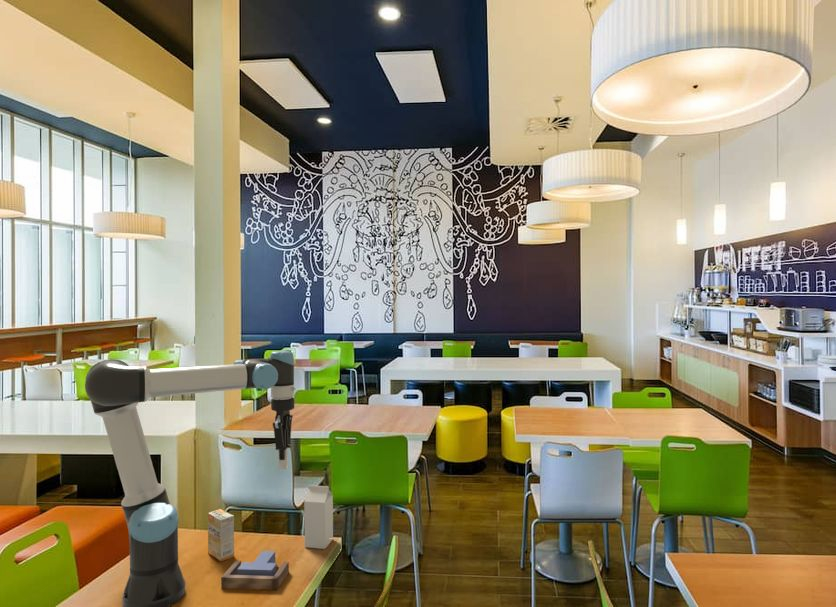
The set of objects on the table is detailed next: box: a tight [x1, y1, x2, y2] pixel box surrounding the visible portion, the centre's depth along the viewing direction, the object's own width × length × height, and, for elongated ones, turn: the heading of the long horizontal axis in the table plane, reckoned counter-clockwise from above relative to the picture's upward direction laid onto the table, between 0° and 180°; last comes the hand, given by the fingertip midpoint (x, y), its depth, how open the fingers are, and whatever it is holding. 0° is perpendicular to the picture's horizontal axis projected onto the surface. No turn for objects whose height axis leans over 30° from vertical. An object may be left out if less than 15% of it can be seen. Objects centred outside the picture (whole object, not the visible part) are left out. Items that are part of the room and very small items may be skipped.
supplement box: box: [207, 508, 235, 562], centre depth 162 cm, size 8×5×13 cm, turn 49°
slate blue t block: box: [237, 550, 278, 576], centre depth 150 cm, size 11×10×4 cm
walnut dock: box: [220, 560, 290, 591], centre depth 147 cm, size 16×10×3 cm, turn 85°
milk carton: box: [303, 484, 334, 550], centre depth 169 cm, size 7×7×19 cm
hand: (283, 468), depth 170 cm, fingers closed
